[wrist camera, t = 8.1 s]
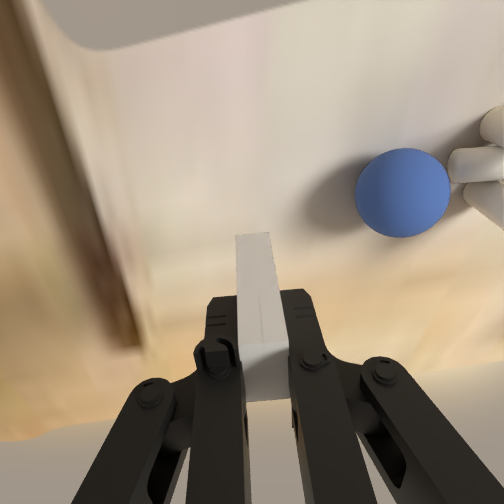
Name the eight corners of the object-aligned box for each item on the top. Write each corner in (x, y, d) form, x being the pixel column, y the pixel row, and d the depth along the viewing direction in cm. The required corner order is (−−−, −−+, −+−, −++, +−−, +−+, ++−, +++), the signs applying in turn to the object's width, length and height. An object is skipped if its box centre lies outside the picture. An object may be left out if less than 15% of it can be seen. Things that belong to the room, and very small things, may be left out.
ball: (461, 179, 26) (379, 159, 28) (471, 143, 20) (369, 124, 23) (428, 256, 26) (350, 229, 28) (429, 241, 20) (332, 209, 23)
